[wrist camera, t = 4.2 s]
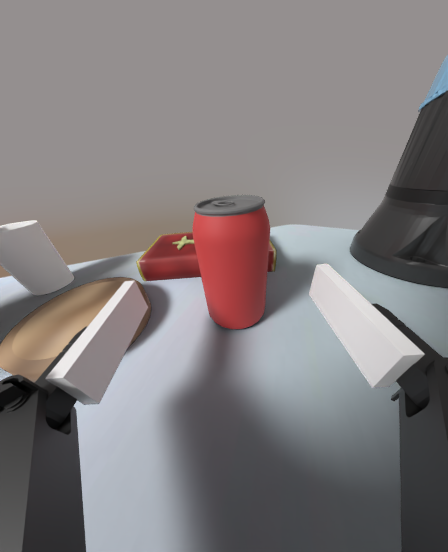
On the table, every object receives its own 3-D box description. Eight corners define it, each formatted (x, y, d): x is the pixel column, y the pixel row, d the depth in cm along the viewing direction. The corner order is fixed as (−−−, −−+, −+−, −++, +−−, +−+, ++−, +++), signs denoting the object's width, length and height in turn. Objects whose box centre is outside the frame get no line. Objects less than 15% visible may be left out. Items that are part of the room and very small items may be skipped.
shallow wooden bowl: (164, 287, 25) (158, 273, 23) (119, 382, 14) (103, 367, 12) (81, 294, 25) (71, 280, 24) (-24, 390, 14) (-54, 377, 13)
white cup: (76, 285, 28) (31, 226, 22) (22, 303, 25) (-45, 241, 19) (78, 269, 32) (42, 217, 27) (34, 283, 29) (-18, 228, 24)
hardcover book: (274, 274, 26) (277, 249, 23) (144, 283, 27) (134, 261, 24) (260, 243, 36) (261, 224, 33) (166, 251, 37) (160, 233, 34)
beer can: (235, 285, 23) (228, 192, 17) (276, 307, 19) (289, 195, 12) (198, 311, 20) (171, 206, 13) (237, 345, 16) (227, 217, 9)
